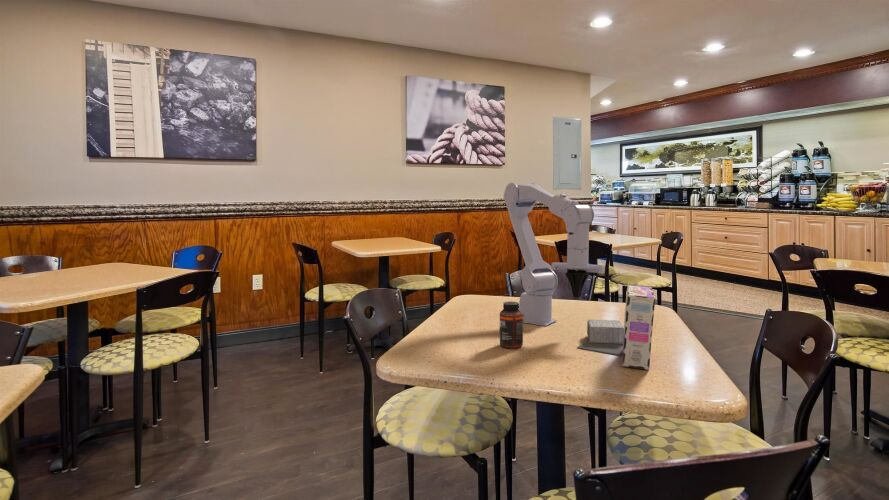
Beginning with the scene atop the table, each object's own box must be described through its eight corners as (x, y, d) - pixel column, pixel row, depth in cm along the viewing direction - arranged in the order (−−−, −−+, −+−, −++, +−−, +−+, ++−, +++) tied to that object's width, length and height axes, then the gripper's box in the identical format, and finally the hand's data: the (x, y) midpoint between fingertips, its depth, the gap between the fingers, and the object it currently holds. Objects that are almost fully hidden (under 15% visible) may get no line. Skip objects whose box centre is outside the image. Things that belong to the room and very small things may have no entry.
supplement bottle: (524, 343, 129) (525, 301, 128) (520, 350, 123) (521, 305, 122) (502, 341, 131) (502, 299, 130) (497, 348, 125) (497, 304, 124)
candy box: (650, 371, 108) (655, 297, 106) (621, 367, 110) (626, 294, 108) (647, 352, 121) (652, 286, 119) (622, 348, 123) (626, 283, 121)
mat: (577, 348, 125) (577, 347, 125) (598, 334, 138) (598, 333, 138) (621, 356, 118) (621, 354, 118) (639, 340, 131) (639, 339, 131)
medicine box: (589, 342, 129) (624, 344, 127) (589, 326, 128) (625, 327, 126) (586, 334, 136) (619, 336, 135) (587, 318, 136) (620, 320, 134)
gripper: (547, 248, 137) (546, 296, 139) (598, 251, 129) (597, 302, 130) (557, 246, 143) (557, 292, 144) (607, 248, 134) (606, 298, 136)
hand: (577, 297), depth 137 cm, fingers closed
